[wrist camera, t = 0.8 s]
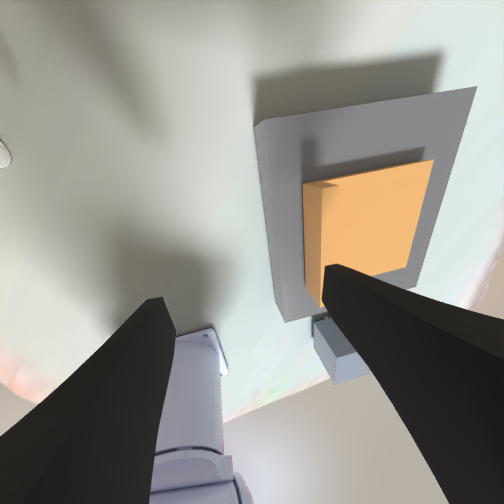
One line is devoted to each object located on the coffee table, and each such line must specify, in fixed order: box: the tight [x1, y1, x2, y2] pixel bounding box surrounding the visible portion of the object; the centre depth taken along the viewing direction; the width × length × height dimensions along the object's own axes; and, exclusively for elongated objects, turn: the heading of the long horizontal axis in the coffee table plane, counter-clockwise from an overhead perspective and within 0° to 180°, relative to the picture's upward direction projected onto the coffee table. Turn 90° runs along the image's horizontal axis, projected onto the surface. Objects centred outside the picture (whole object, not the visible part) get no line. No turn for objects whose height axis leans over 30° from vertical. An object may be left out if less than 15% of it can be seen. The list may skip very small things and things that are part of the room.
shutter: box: [303, 160, 434, 308], centre depth 14 cm, size 9×8×2 cm
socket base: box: [253, 86, 477, 323], centre depth 16 cm, size 14×16×3 cm
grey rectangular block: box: [314, 316, 370, 384], centre depth 22 cm, size 4×4×5 cm
